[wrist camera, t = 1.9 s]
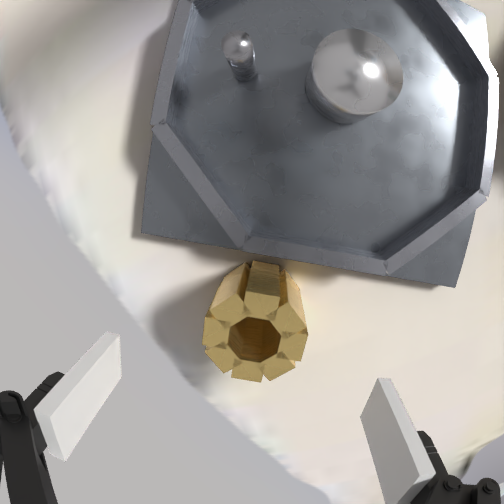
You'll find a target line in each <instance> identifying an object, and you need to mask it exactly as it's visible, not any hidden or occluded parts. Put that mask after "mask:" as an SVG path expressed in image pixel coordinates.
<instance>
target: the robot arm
mask: <svg viewBox="0 0 504 504" xmlns="http://www.w3.org/2000/svg"><path fill="white" fill-rule="evenodd" d="M121 375H122V374H121V356H120V335H119V334H115V333H112V332H108V331H106V332H105V333H104V334H103V335H102V336H101V337H100V338H99V339H98V340H97V341H96V342H95V344H94V345H93V346H92V347H91V348H90V349H89V350H88V351H87V352H86V353H85V354H84V355H83V356H82V357H81V358H80V359H79V360H78V361H77V362H76V364H75V365H74V366H73V367H72V368H71V369H70V370H69V371H68V372H67V373H66V374H63V373H60V372H56V373H54V374H51V375H49V376H48V377H47V378H46V379H45V380H44V381H43V382H42V384H40V385H39V386H38V387H37V389H35V390H34V391H33V392H32V393H31V394H30V396H28V398H27V399H26V400H25V401H23V398H22V396H21V395H20V394H19V393H17V392H15V391H3V392H1V393H0V482H1V473H2V465H3V462H4V468H5V476H6V482H7V488H8V493H9V498H10V503H11V504H58V503H57V499H56V496H55V493H54V490H53V487H52V483H51V479H50V476H49V472H48V468H47V465H46V461H45V456H44V454H43V451H44V450H45V448H46V447H47V448H48V450H49V453H50V454H51V455H52V456H54V457H56V458H58V459H61V460H63V461H65V462H66V460H67V458H68V457H69V455H70V454H71V452H72V451H73V449H74V448H75V446H76V444H77V443H78V441H79V440H80V438H81V437H82V435H83V434H84V432H85V431H86V429H87V428H88V426H89V425H90V423H91V422H92V420H93V419H94V417H95V416H96V414H97V412H98V411H99V410H100V408H101V407H102V405H103V404H104V402H105V401H106V399H107V398H108V397H109V395H110V393H111V392H112V391H113V389H114V387H115V386H116V385H117V383H118V382H119V380H120V379H121V377H122V376H121ZM360 418H361V421H362V424H363V428H364V431H365V434H366V437H367V441H368V444H369V447H370V451H371V454H372V457H373V461H374V464H375V468H376V471H377V475H378V478H379V482H380V485H381V489H382V493H383V496H384V500H385V504H501V498H500V487H499V485H498V483H497V482H496V481H495V480H493V479H491V478H483V479H481V480H480V481H479V482H478V484H477V485H465V484H462V482H461V481H460V479H459V478H457V477H455V476H453V475H448V473H447V471H446V468H445V466H444V464H443V462H442V460H441V458H440V456H439V454H438V453H437V450H436V448H435V447H434V444H433V442H432V440H431V438H430V437H429V436H428V435H427V434H426V433H425V432H424V431H416V429H415V427H414V425H413V422H412V420H411V418H410V416H409V414H408V412H407V410H406V408H405V406H404V404H403V402H402V400H401V398H400V396H399V394H398V392H397V390H396V388H395V386H394V384H393V382H392V380H391V379H387V378H378V379H377V381H376V383H375V386H374V388H373V390H372V392H371V395H370V397H369V399H368V401H367V403H366V406H365V408H364V410H363V412H362V414H361V416H360Z"/></svg>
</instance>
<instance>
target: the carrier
mask: <svg viewBox="0 0 504 504" xmlns="http://www.w3.org/2000/svg"><path fill="white" fill-rule="evenodd" d="M496 75H497V73H496V71H495V69H494V67H493V66H492V64H491V62H490V61H489V54H488V38H487V26H486V17H485V14H484V13H482V12H480V11H478V10H476V9H475V8H473V7H471V6H469V5H467V4H465V3H463V2H461V1H460V0H179V1H178V4H177V8H176V11H175V15H174V18H173V22H172V25H171V29H170V33H169V37H168V41H167V45H166V49H165V53H164V57H163V61H162V66H161V70H160V75H159V80H158V84H157V89H156V94H155V99H154V105H153V110H152V116H151V121H150V125H153V126H154V127H153V128H152V129H151V130H152V131H153V137H152V144H151V150H150V157H149V165H148V172H147V180H146V189H145V198H144V208H143V218H142V230H141V233H145V234H151V235H157V236H162V237H168V238H174V239H179V240H185V241H191V242H196V243H202V244H208V245H214V246H219V247H225V248H231V249H236V250H242V251H244V252H250V253H256V254H261V255H267V256H273V257H278V258H284V259H290V260H295V261H301V262H307V263H313V264H318V265H324V266H330V267H335V268H341V269H347V270H353V271H358V272H364V273H370V274H375V275H381V276H390V277H396V278H402V279H407V280H413V281H419V282H425V283H430V284H436V285H442V286H447V287H453V288H455V287H456V284H457V280H458V277H459V274H460V271H461V267H462V264H463V260H464V257H465V253H466V249H467V245H468V242H469V238H470V233H471V229H472V225H473V220H474V216H475V211H476V209H477V208H478V207H479V206H481V205H482V204H483V203H484V202H485V201H486V200H487V199H486V197H485V196H488V197H489V192H490V186H491V180H492V173H493V166H494V158H495V149H496V138H497V125H498V103H499V78H497V77H496Z"/></svg>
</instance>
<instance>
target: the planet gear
mask: <svg viewBox="0 0 504 504" xmlns="http://www.w3.org/2000/svg"><path fill="white" fill-rule="evenodd" d="M253 317H254V318H253ZM258 318H259V319H258ZM307 337H308V332H307V326H306V321H305V315H304V310H303V305H302V300H301V295H300V290H299V288H298V286H297V285H296V284H295V282H294V281H293V279H292V278H291V277H290V275H289V274H288V272H287V271H286V269H284V270H283V271H281V272H280V273H279V265H276V264H270V263H264V262H259V261H253V262H252V267H251V269H250V267H249V266H248V265H247V263H246V262H245V263H243V264H242V265H241V266H239V267H238V268H236V269H235V270H233V271H232V272H230V273H229V274H227V275H226V276H225V277H224V279H223V281H222V282H221V283H220V286H219V288H218V290H217V292H216V294H215V296H214V299H213V301H212V303H211V305H210V307H209V309H208V312H207V314H206V316H205V321H204V330H203V339H202V345H206V346H207V347H206V349H205V353H206V354H207V355H208V357H209V358H210V359H211V360H212V361H213V362H214V363H215V364H216V366H217V367H218V368H219V369H220V370H221V371H222V372H223V373H225V372H227V371H229V370H231V369H232V375H231V377H232V378H237V379H243V380H249V381H255V382H261V381H262V376H263V374H264V376H265V377H266V378H267V379H268V380H269V381H271V380H273V379H275V378H277V377H279V376H280V375H282V374H284V373H286V372H288V371H290V370H292V369H294V368H295V361H301V358H302V355H303V351H304V348H305V344H306V341H307Z"/></svg>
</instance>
